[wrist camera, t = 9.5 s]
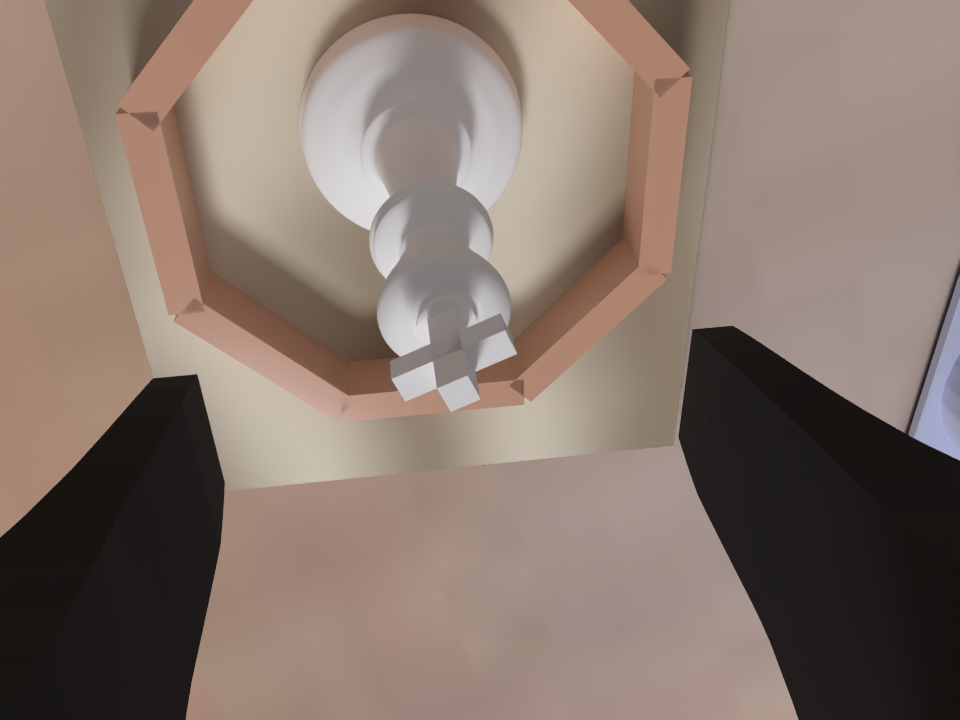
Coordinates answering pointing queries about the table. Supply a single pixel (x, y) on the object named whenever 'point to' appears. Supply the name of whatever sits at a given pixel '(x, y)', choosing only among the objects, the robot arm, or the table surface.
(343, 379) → the ring collar
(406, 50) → the chess piece
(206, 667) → the table surface
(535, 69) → the birch board
